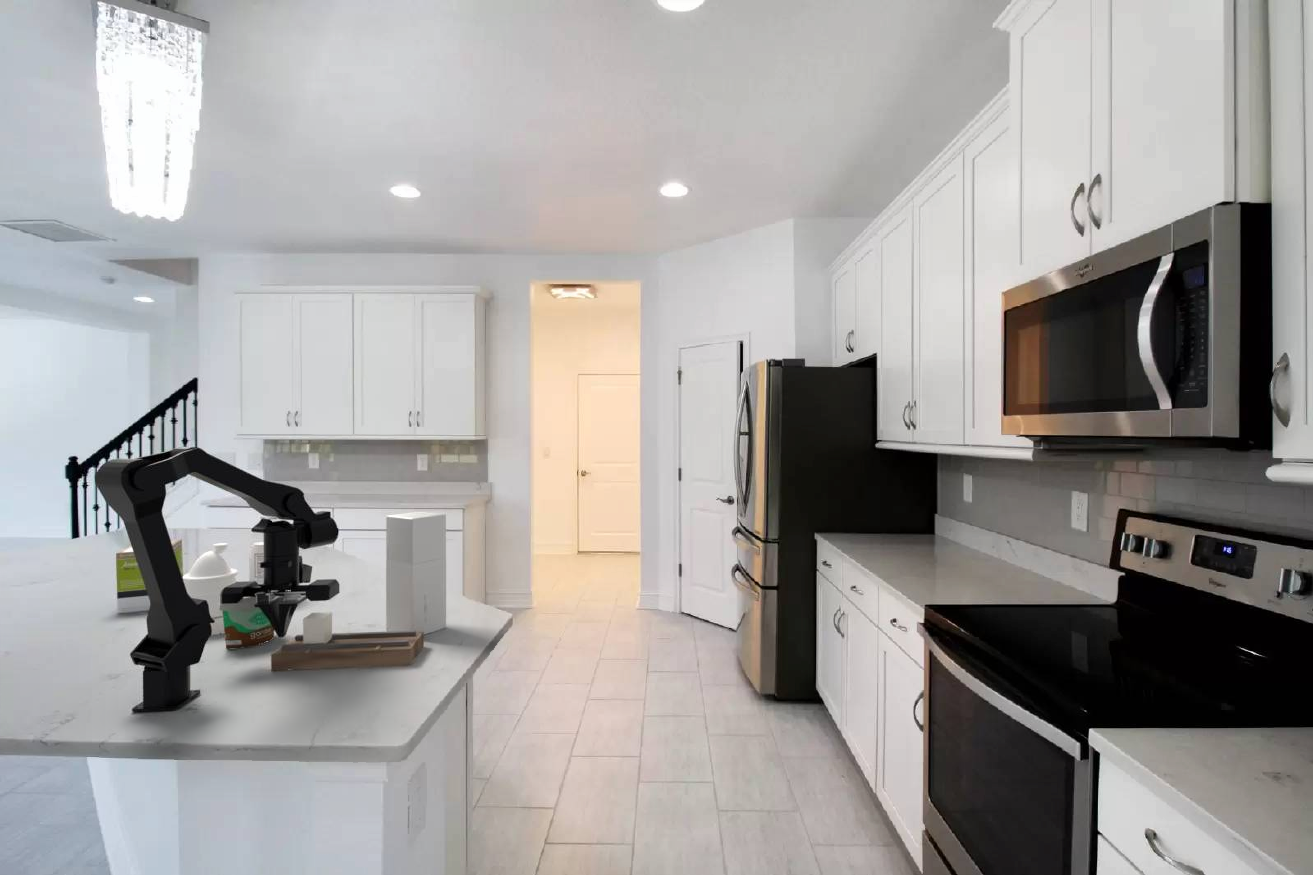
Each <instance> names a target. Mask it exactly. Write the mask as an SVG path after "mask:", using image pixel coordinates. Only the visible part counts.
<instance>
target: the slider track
mask: <svg viewBox="0 0 1313 875" xmlns="http://www.w3.org/2000/svg"><path fill="white" fill-rule="evenodd" d="M424 639H425V635H424V632H416V630H415V631H388V632H387V631H369V632H368V631H367V632H366V631H365V632H363V631H362V632H361V631H360V632H337V633H336V632H335V633H333V632H332V639H331V640H329V641H328V642H327V643H315V644H303V634H296V635H295V636H294V637H292V638H291V639H290V640H288V641H287V642H286V643H284V644H283V645H281V647H279V648H278V649H277V650H275V651H274V652H272V653H271V654H270V656H271V657H270V658H271V659H270V668H271V669H270V671H271V672H275V671H274V670H285V671H289V670H288V669H308V670H326V669H327V670H328V669H349V668H350V669H351V668H353V669H354V668H373V667H375V668H376V667H378V668H379V667H396V666H411V665H412V664H413V662H414V661H415V660H416V658H417V656H418V655H419V654H420V653H421V651H422V649H423V648H424V644H425V643H424V642H425V641H424Z"/></svg>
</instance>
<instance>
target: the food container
mask: <svg viewBox="0 0 1313 875" xmlns="http://www.w3.org/2000/svg"><path fill="white" fill-rule="evenodd" d="M275 591H276V590H275ZM275 591H274V592H275ZM277 591H278V590H277ZM271 592H273V591H271ZM254 604H256V597H243V599H242V600H241V601H240V602H239V603H233V604H221V603H220V609H219V610H220V611H222V612H223V622H224V632H225V633H224V640H225V649H227V648H236V649H242V648H241V647H246V648H249V647H248V646H252V647H256V645H257V646H260V645H262V644H261V643H264V642H266V641H269V642H270V640H271V639H272V638H273V637H275V631H274V629H273V627H272V625H271V624H270V622H269V620H268V619H267V617H266V616H265V615H264V613H263V612H262V611H261V609H260V608H259V607H254ZM273 639H274V638H273ZM273 639H272V640H273ZM272 640H271V641H272ZM266 643H267V642H266ZM259 644H260V645H259ZM264 644H265V643H264Z"/></svg>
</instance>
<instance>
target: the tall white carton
mask: <svg viewBox="0 0 1313 875" xmlns="http://www.w3.org/2000/svg"><path fill="white" fill-rule="evenodd" d="M385 521H386V522H385V523H386V525H385V526H386V528H385V530H386V531H385V533H386V534H385V536H386V539H385V540H386V543H385V544H386V546H385V547H386V550H385V551H386V553H385V554H386V559H385V562H386V563H385V566H386V567H385V594H386V595H385V596H386V598H385V599H386V600H385V606H386V607H385V610H386V611H385V615H386V616H385V618H386V621H385V623H386V624H385V627H386V628H385V629H386V630H385V632H388V631H415V630H416V632H424V636H425V635H428V634H432V633H434V632H437V631H440V630H443V629H446V628H447V549H446V548H447V515H446V514H445V513H439V512H430V511H427V512H426V511H413V512H407V513H406V512H405V513H398V514H397V513H396V514H388V515H386V518H385Z"/></svg>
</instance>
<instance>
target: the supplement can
mask: <svg viewBox="0 0 1313 875" xmlns="http://www.w3.org/2000/svg"><path fill="white" fill-rule="evenodd" d="M248 552H249V553H248V554H249V555H248V558H249V559H248V560H249V563H248V564H249V567H248V568H249V569H248V570H249V571H248V572H249V574H248V575H249V576H248V577H249V578H248V579H249V580H248V581H256V582H257V583H258V585H259V586H260V585H262V584H264V568H260V563H261V562H263V561H264V540H261V541H256V542H253V543H252V545H251V546H250V548H249V550H248ZM285 591H289V590H285ZM284 601H285V598H284Z"/></svg>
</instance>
